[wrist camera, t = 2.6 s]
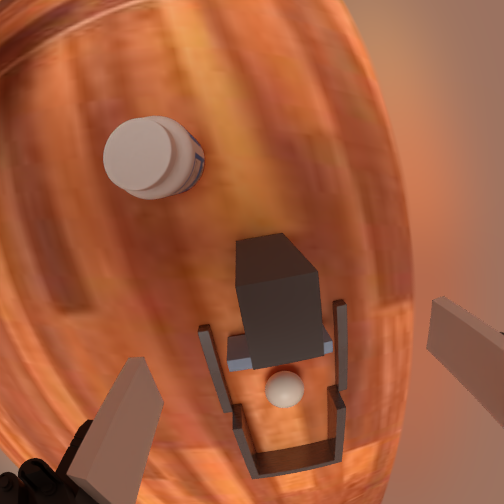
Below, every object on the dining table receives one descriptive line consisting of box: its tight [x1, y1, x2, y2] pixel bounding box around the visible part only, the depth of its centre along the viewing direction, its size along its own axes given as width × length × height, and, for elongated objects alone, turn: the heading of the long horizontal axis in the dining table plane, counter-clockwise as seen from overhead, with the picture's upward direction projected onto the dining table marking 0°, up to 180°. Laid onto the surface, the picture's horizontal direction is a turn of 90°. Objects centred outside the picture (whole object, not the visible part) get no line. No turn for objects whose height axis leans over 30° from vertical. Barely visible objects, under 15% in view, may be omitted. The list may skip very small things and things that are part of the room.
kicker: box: [227, 233, 333, 372], centre depth 20 cm, size 10×9×11 cm
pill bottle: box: [103, 116, 205, 200], centre depth 18 cm, size 6×5×10 cm
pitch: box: [198, 300, 348, 479], centre depth 27 cm, size 23×14×4 cm, turn 10°
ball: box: [265, 371, 304, 408], centre depth 26 cm, size 4×4×4 cm
